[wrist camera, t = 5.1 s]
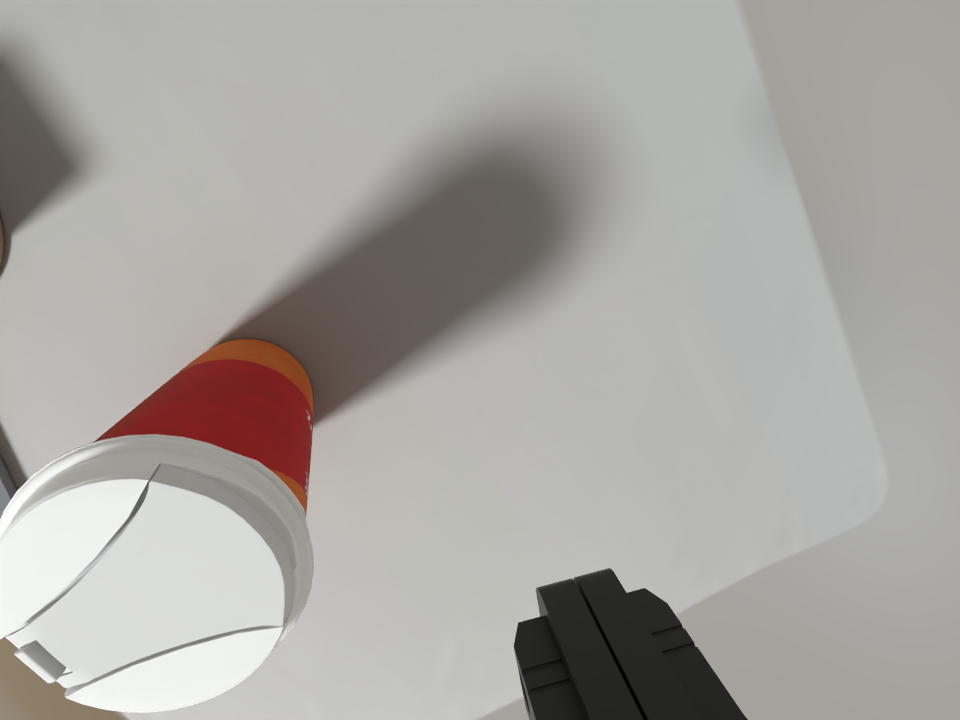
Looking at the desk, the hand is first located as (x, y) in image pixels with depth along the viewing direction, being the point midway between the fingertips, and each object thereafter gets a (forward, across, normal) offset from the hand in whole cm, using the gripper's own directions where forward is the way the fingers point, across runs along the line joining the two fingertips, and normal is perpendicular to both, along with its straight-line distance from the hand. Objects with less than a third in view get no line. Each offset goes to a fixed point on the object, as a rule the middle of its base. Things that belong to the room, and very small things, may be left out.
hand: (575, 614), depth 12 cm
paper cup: (+18, +10, 0) cm, 21 cm away
